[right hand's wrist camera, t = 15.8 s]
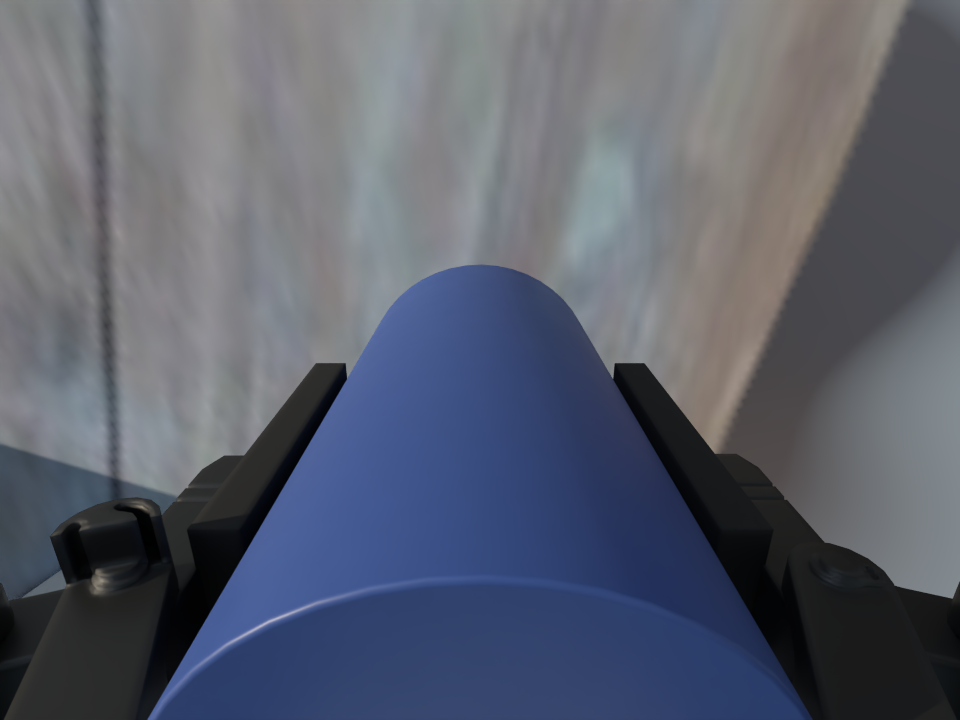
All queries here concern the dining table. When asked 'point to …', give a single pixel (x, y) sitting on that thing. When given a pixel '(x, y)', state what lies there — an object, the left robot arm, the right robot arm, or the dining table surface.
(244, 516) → the right robot arm
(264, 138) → the dining table surface
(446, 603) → the canister
